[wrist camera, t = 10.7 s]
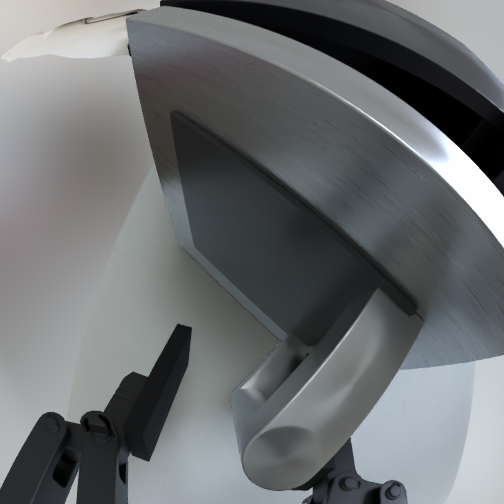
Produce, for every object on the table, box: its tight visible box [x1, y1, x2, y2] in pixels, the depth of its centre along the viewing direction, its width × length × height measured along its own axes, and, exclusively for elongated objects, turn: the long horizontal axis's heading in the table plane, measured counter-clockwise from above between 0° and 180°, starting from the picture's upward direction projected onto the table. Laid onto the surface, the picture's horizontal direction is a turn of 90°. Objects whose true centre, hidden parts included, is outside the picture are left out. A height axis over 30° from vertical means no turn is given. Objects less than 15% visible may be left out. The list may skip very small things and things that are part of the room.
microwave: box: [160, 0, 504, 197], centre depth 18 cm, size 22×22×18 cm
